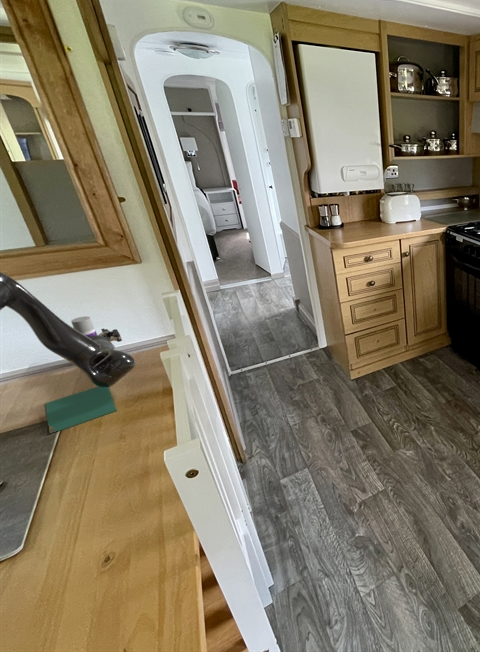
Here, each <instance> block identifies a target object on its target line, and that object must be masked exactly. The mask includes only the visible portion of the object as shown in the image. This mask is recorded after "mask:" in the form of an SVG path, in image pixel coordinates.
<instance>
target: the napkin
mask: <svg viewBox="0 0 480 652" xmlns="http://www.w3.org/2000/svg"><path fill="white" fill-rule="evenodd" d="M115 412H117V407H116V405H115V402H114V400H113V397H112V394H111V390H110V387H106V388H104V387H99V386H96V387H92V388H88V389H86V390H83V391H79V392H77V393H74V394H70V395H68V396H64V397H61V398H58V399H53V400H51V401H48V402H45V413H46V421H47V427H48V426H52V427H54V429H53V430H54V431H55V432H56V431H58V432H62V431H64V430H67V429H70V428H73V427H75V426H78V425H81V424H84V423H86V422H89V421H92V420H95V419H97V418H100V417H103V416H104V417H105V416H107V415H109V414H112V413H115ZM56 433H57V432H56Z"/></svg>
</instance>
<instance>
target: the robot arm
mask: <svg viewBox="0 0 480 652" xmlns="http://www.w3.org/2000/svg"><path fill="white" fill-rule="evenodd" d="M6 307H7V308H9V310H10V309H11V310H12V311H14V312H15V313H16V314H17V315H19V316H20V317H21V318H22V319H23V320H24V321H25V322H26V323H27V325H28V326H29V327H30V329H31V330H32V332H33V333H34V335H35V336H36V338H37V339H38V341H39V342H40V343H41V344H42V345H43V346H44V347H45V348H46V349H47V350H49V351H50V352H52V353H54V354H55V355H57V356H58V357H60V358H62V359H63V360H66V361H68V362H70V363H71V364H73V365H74V366H75V367H76V368H77V369H79V370H80V371H81V372H82V374H84V376H85V377H86V378H87V379H88V380H89V381H90V382H91V383H92V384H93V385H95V386H96V387H104V388H106V387H108V388H111V387H113V386H114V385H116V384H117V383H118V382H119V381H120V380H122V379H123V378H124V377H125V376H126V375H128V374H129V373H130V372H131V371H133V369H134V368H135V366H136V359H135V358H134V357H133V356H132V355H131V354H130V353H128V352H125V351H123V350H118V349H117V348H116V346H115V345H114V343H112V342H118V343H119V342H122V341H123V338H122V336H121V334H120V332H119V331H118V329H115V328H114V329H112V330H109V329H107V328H101V332H99V333H98V334H97V335H95V336H90V337H87V336H85V335H84V334H82V333H81V332H79V331H77V330H76V329H74V328H73V326H71V325H69V324H68V322H66V321H64V320H63V319H61V318H60V317H59V316H58V315H57V314H55V312H53V311H52V310H51V309H49V307H47V305H45V304H44V303H43V302H42V301H40V300H39V299H38V298H37V297H36V296H34V294H32V293H31V292H30V291H28V290H27V288H26V287H24V286H23V285H22V284H21V283H20V282H18V281H17V280H15V279H14V278H13V277H11V276H9V275H8V274H6V273H3V272H2V271H0V311H2V310H3V309H4V308H6Z"/></svg>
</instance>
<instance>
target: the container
mask: <svg viewBox="0 0 480 652" xmlns="http://www.w3.org/2000/svg"><path fill="white" fill-rule="evenodd" d="M71 325H72V327H73V328H74V329H76V330H77V331H79V332H81V333H82V334H84V335H85V336H87V337H90V336H95V335H98V333H97V331H96V329H95V326H94V324H93V322H92V319H91V317H90V316H80V317H75V318H73V319H71Z"/></svg>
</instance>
